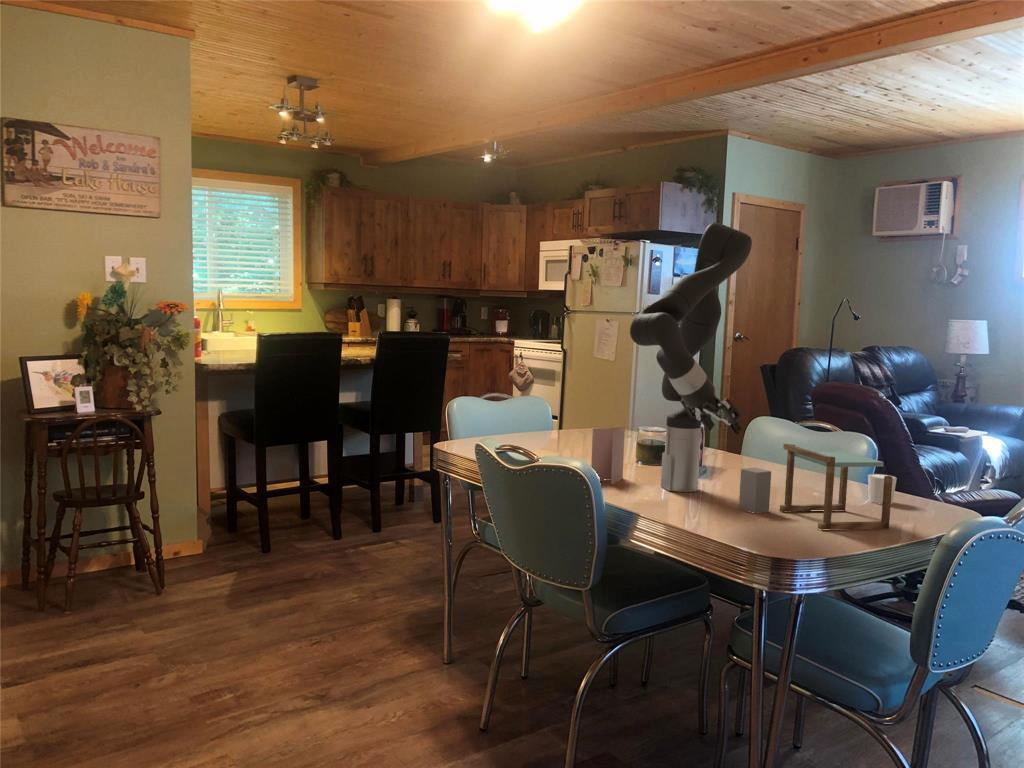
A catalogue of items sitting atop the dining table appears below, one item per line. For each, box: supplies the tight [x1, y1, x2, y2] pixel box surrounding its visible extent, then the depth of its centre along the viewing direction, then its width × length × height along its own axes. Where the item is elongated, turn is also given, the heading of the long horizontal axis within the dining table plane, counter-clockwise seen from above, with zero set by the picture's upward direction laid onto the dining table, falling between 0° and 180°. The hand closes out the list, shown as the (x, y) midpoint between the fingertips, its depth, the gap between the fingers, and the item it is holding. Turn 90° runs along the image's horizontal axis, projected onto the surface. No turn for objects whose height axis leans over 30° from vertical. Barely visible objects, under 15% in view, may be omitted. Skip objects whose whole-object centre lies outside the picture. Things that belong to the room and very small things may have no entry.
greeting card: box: [590, 426, 626, 486], centre depth 218 cm, size 11×7×15 cm, turn 121°
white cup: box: [867, 473, 898, 505], centre depth 202 cm, size 7×7×7 cm
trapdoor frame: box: [779, 443, 893, 531], centre depth 182 cm, size 17×18×17 cm
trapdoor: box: [794, 451, 885, 468], centre depth 181 cm, size 14×14×1 cm
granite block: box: [738, 467, 772, 514], centre depth 189 cm, size 5×5×10 cm
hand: (724, 430), depth 182 cm, fingers open, 8 cm apart
